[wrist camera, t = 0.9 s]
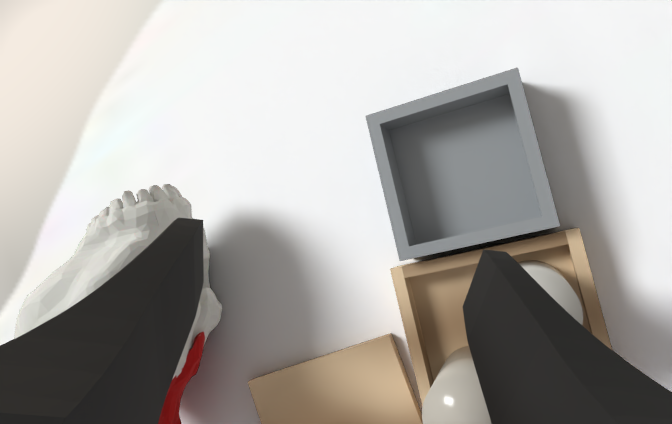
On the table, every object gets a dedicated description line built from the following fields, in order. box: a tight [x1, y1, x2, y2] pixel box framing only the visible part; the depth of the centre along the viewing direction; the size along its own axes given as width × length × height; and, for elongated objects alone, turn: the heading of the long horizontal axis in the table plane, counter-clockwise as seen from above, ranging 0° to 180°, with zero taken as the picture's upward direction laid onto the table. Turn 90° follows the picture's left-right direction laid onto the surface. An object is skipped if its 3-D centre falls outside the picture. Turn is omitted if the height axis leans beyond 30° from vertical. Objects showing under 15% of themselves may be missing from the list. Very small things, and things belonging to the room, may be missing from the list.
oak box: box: [390, 228, 612, 407], centre depth 26 cm, size 9×9×2 cm
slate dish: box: [366, 68, 560, 261], centre depth 26 cm, size 7×7×2 cm
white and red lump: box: [14, 184, 223, 424], centre depth 29 cm, size 9×11×15 cm
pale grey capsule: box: [518, 260, 583, 325], centre depth 23 cm, size 3×3×6 cm
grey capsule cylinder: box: [422, 346, 491, 424], centre depth 24 cm, size 3×3×6 cm
